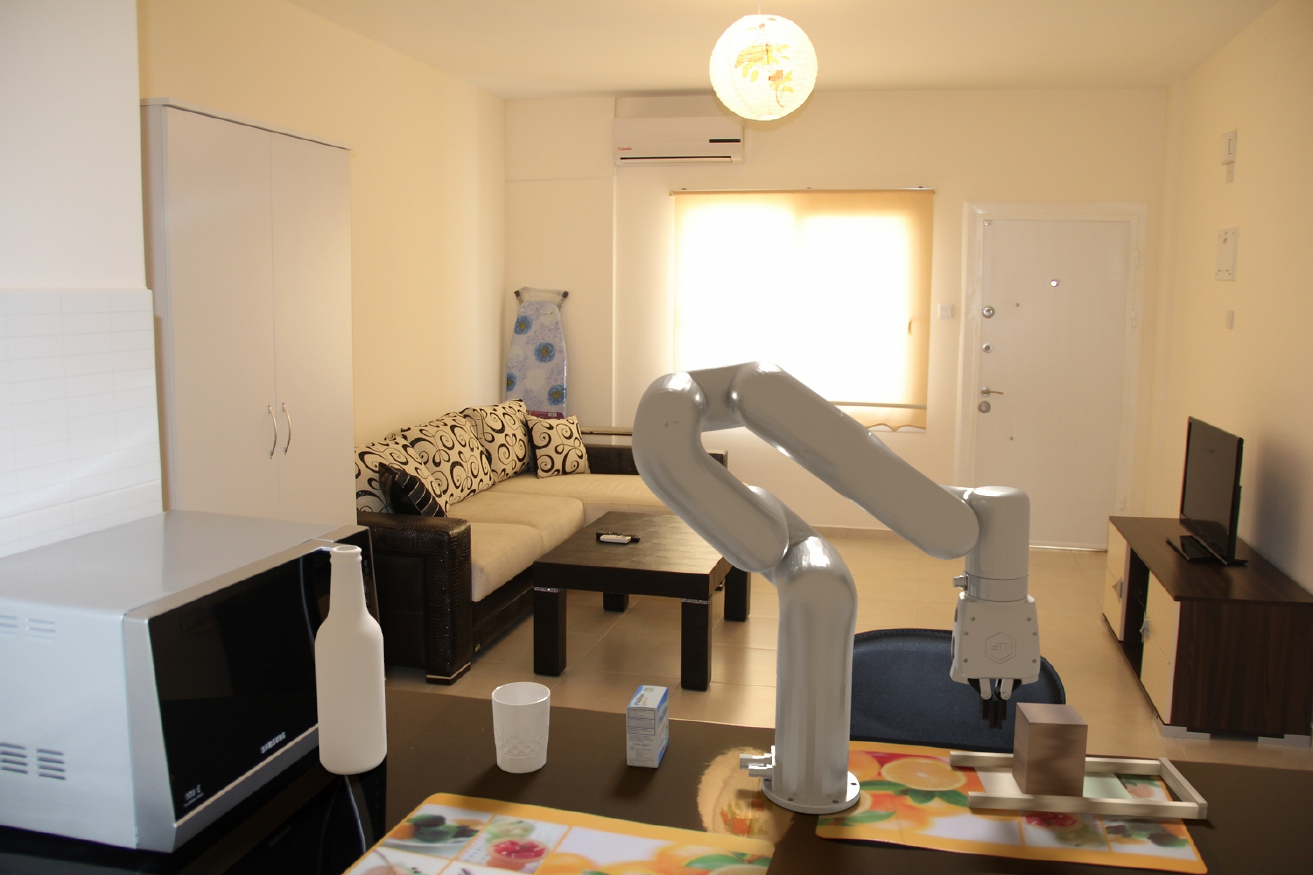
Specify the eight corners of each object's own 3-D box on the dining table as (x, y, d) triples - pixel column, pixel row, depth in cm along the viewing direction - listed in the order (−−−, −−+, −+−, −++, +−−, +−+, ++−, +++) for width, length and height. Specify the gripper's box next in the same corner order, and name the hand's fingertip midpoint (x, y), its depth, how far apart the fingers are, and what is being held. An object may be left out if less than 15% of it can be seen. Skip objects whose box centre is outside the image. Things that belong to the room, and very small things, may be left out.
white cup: (562, 758, 137) (561, 689, 136) (525, 781, 131) (524, 709, 129) (518, 744, 141) (517, 677, 140) (480, 766, 135) (479, 696, 133)
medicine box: (657, 769, 134) (658, 708, 133) (625, 766, 135) (625, 705, 134) (668, 743, 142) (669, 686, 141) (638, 740, 143) (638, 683, 141)
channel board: (968, 818, 122) (969, 791, 122) (948, 771, 134) (949, 747, 133) (1205, 830, 120) (1207, 803, 119) (1163, 782, 132) (1165, 757, 131)
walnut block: (1024, 797, 124) (1029, 722, 123) (1012, 774, 130) (1016, 702, 129) (1082, 800, 124) (1088, 724, 122) (1067, 777, 130) (1072, 704, 128)
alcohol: (307, 771, 133) (296, 554, 128) (342, 743, 141) (334, 538, 137) (366, 779, 131) (358, 559, 126) (398, 750, 139) (391, 542, 135)
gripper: (940, 594, 121) (938, 737, 123) (1067, 594, 119) (1062, 738, 122) (929, 577, 128) (927, 711, 131) (1048, 577, 127) (1044, 713, 129)
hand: (992, 724), depth 126 cm, fingers closed
